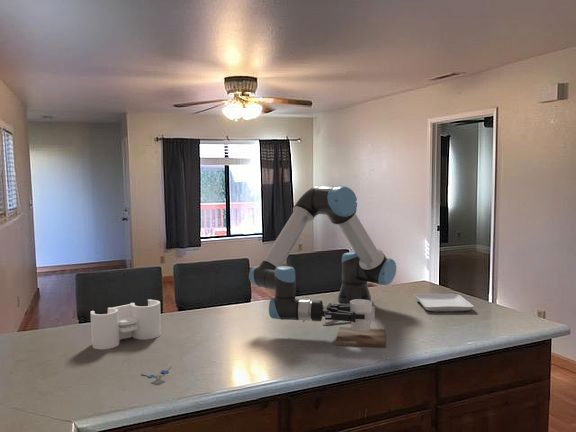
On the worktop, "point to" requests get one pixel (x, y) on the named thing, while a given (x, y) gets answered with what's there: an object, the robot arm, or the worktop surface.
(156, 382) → the key chain
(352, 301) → the white cup
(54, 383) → the worktop surface
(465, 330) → the worktop surface
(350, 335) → the walnut board
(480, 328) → the worktop surface
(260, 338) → the worktop surface
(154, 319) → the bracket
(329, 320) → the caliper
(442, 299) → the salad plate
